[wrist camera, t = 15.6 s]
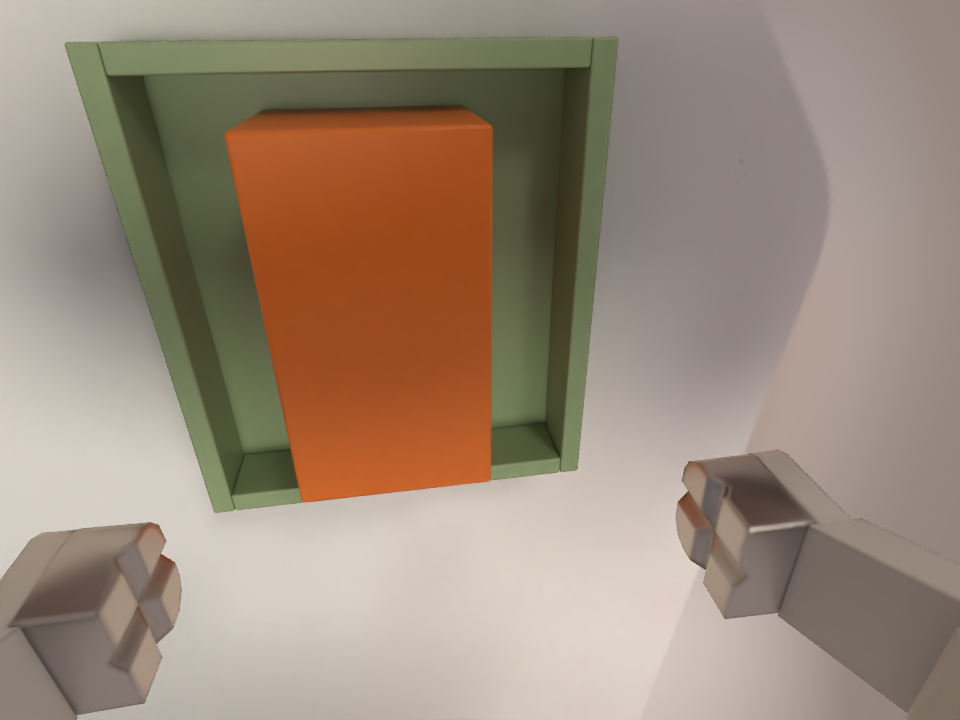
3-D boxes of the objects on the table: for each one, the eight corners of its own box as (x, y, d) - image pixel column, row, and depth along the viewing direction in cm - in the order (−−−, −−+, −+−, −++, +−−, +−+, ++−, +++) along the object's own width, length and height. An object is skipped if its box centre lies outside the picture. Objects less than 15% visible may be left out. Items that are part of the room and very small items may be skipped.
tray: (581, 37, 15) (619, 36, 12) (555, 424, 21) (578, 471, 18) (115, 42, 13) (62, 42, 11) (232, 458, 19) (213, 513, 17)
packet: (465, 105, 14) (493, 124, 11) (470, 401, 19) (491, 482, 15) (260, 109, 14) (221, 131, 10) (314, 416, 18) (301, 504, 15)
